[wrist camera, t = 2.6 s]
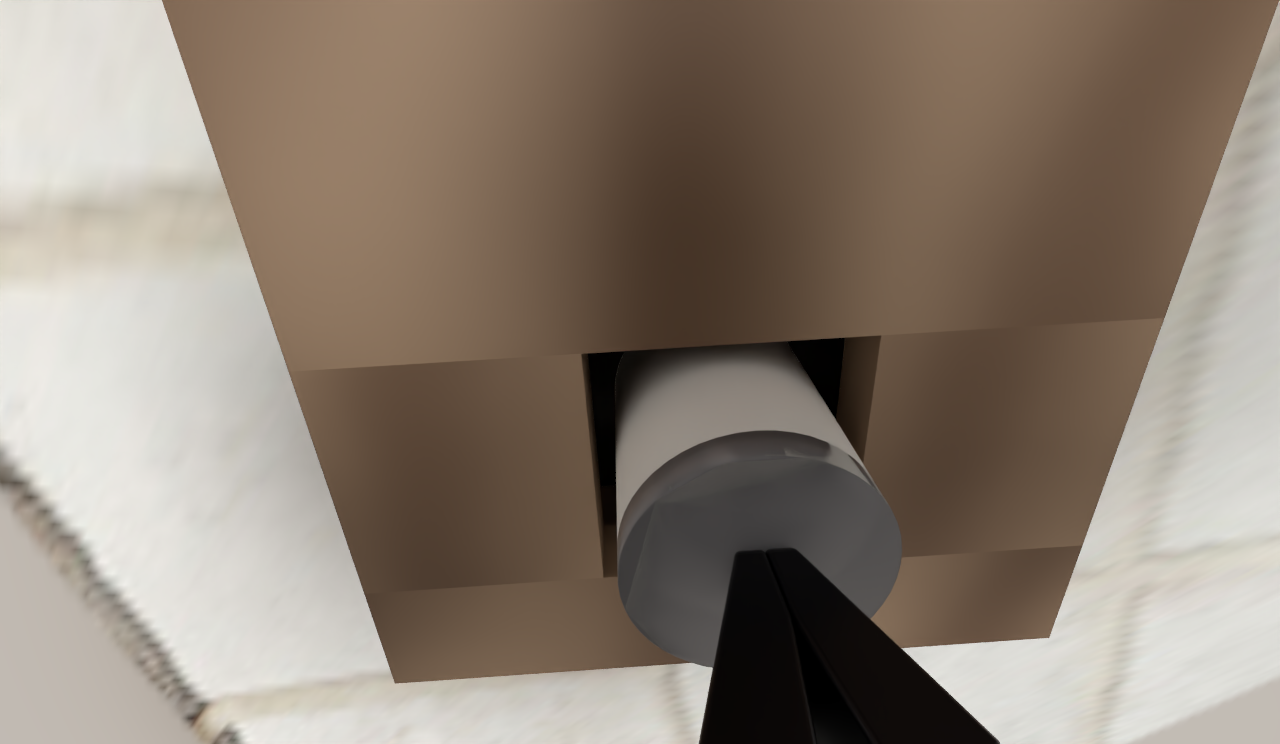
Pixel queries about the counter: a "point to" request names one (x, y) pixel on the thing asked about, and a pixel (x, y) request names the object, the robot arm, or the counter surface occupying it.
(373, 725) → the counter surface
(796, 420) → the plug
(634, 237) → the wooden holder block
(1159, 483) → the counter surface
